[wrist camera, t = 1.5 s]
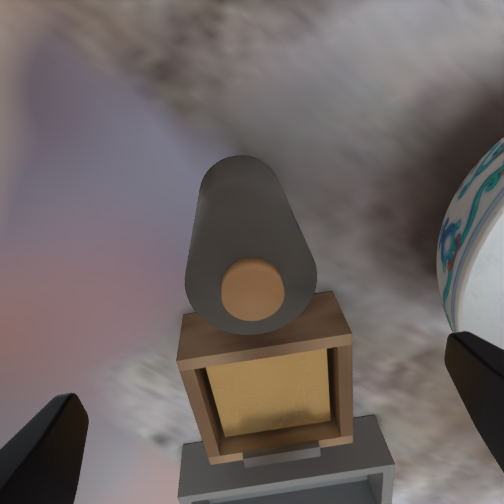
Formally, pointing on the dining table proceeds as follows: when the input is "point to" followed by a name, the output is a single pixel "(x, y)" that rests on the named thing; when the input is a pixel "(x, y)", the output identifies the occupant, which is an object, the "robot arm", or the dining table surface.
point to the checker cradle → (264, 346)
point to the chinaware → (475, 251)
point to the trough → (296, 475)
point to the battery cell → (247, 251)
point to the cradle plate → (271, 392)
